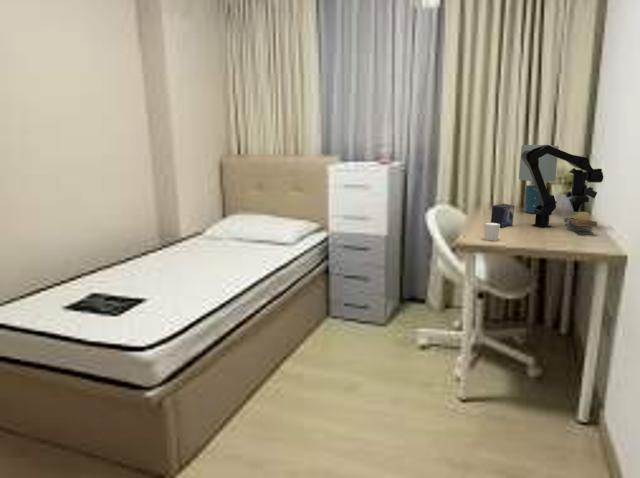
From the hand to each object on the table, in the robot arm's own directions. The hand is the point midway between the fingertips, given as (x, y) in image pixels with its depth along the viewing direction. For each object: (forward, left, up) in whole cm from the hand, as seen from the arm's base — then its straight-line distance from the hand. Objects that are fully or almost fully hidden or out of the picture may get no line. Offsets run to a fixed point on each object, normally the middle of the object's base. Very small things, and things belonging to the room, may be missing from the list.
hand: (575, 213), depth 268 cm
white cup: (-59, -2, -7) cm, 59 cm away
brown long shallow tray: (-6, -7, -3) cm, 10 cm away
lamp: (+16, +38, -7) cm, 42 cm away
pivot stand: (-6, -7, -6) cm, 11 cm away
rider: (-6, -7, -2) cm, 9 cm away
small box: (-31, +18, -7) cm, 36 cm away
